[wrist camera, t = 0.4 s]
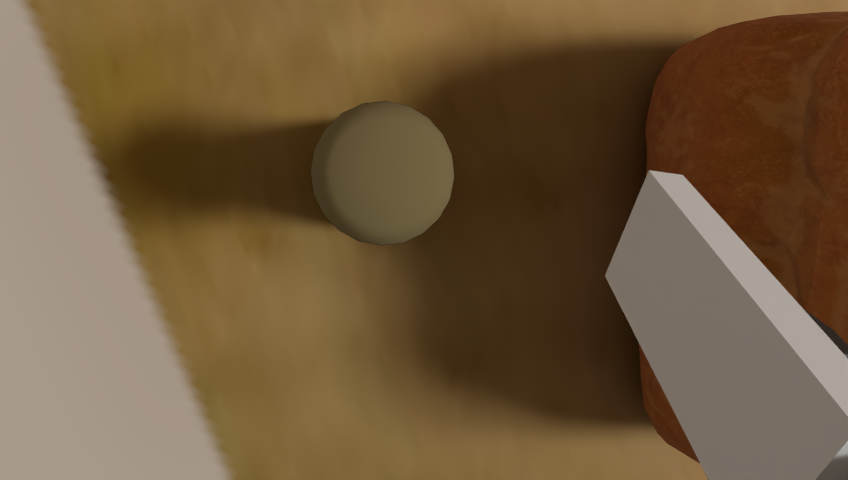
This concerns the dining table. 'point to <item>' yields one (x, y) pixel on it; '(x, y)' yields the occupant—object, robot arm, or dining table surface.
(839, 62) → the bread
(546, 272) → the dining table surface
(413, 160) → the cork
